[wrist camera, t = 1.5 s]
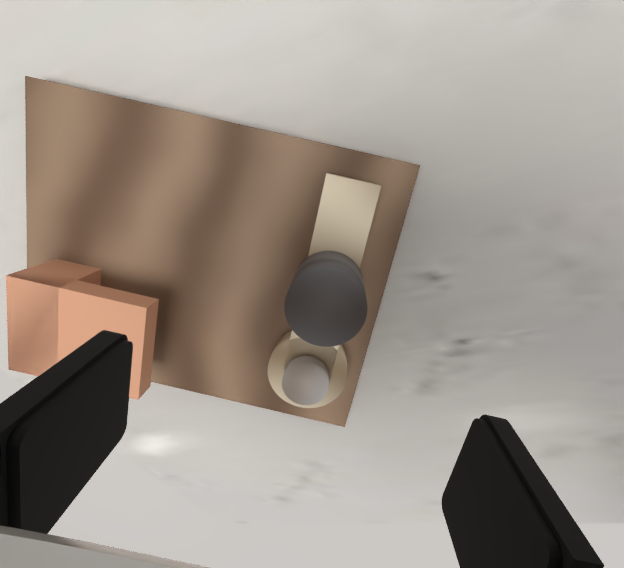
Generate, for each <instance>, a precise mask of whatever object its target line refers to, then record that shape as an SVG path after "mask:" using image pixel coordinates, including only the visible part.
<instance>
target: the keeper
mask: <svg viewBox="0 0 624 568" xmlns="http://www.w3.org/2000/svg"><path fill="white" fill-rule="evenodd" d="M6 288H7V324H8V361H9V369H10V370H14V371H18V372H23V373H27V374H31V375H35V376H39V375H41V374H42V373H44V372H45V371H46V370H48V369H49V368H51V367H52V366H53V365H55V364H56V363H58V362H59V361H60V360H62V359H63V358H64V357H66V356H67V355H69V354H70V353H71V352H73V351H74V350H76V349H77V348H78V347H80V346H81V345H83V344H84V343H85V342H87V341H88V340H89V339H91V338H92V337H94V336H95V335H96V334H98V333H99V332H101V331H103V330H107V331H111V332H116V333H120V334H125V335H126V336H127V338H128V341H131V342H132V343H133V354H132V366H131V378H130V390H129V398H133V399H139V398H140V397H141V396H142V395H143V394H144V393H145V391H146V390H147V389H148V388H149V387H150V383H151V373H152V363H153V353H154V343H155V333H156V323H157V313H158V303H159V299H156V298H152V297H148V296H143V295H139V294H135V293H130V292H126V291H122V290H117V289H113V288H109V287H104V286H101V269H99V268H95V267H90V266H86V265H82V264H77V263H73V262H69V261H64V260H60V259H55V260H52V261H48V262H45V263H42V264H39V265H36V266H33V267H30V268H27V269H24V270H21V271H18V272H15V273H12V274H9V275H6Z"/></svg>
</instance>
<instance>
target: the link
mask: <svg viewBox="0 0 624 568" xmlns="http://www.w3.org/2000/svg"><path fill="white" fill-rule="evenodd" d="M380 189H381V185H379V184H374V183H370V182H365V181H361V180H357V179H352V178H348V177H343V176H339V175H335V174H330V173H326V177H325V182H324V186H323V191H322V196H321V200H320V205H319V209H318V214H317V218H316V223H315V228H314V232H313V237H312V241H311V246H310V250H309V255H308V257H307V258H306V259H305V260H304V261H303V262H302V263H301V264H300V266H299V267H298V269H297V272H296V274H295V276H294V278H293V281H292V283H291V285H290V288H289V290H288V292H287V294H286V298H285V304H284V311H285V316H286V320H287V322H288V324H289V326H290V328H291V329H292V331H290V332H288V333H286V334H285V335H283V336H282V337H281V338H280V339H279V341H278V342H277V343H276V345H275V347H274V349H273V352H272V355H271V357H270V360H269V363H268V379H269V382H270V384H271V387H272V388H273V390H274V391H275V393H276V394H277V395H278V396H279V397H280V398H281V399H283V400H284V401H286V402H287V403H289V404H292V405H294V406H297V407H302V408H317V407H321V406H324V405H327V404H329V403H330V402H332V401H333V400H335V399H336V398H337V397H338V396H339V395H340V394H341V392H342V391H343V389H344V387H345V384H346V381H347V357H346V353H345V351H344V348H343V346H342V345H341V344H343V343H345V342H347V341H349V340H351V339H352V338H353V337H354V336H356V335H357V333H358V332H359V331H360V330H361V328H362V327H363V325H364V323H365V320H366V316H367V300H366V294H365V288H364V282H363V277H362V273H361V271H360V265H361V261H362V257H363V254H364V250H365V246H366V242H367V238H368V235H369V231H370V227H371V223H372V220H373V216H374V212H375V208H376V204H377V201H378V197H379V193H380ZM299 356H312V357H315V358H317V359H319V360H320V361H322V362H323V363H324V364H325V366H326V367H327V369H328V372H329V388H328V392H327V394H326V396H325V397H324V398H323V399H322V400H321V401H320V402H318V403H316V404H313V405H300V404H297V403H295V402H293V401H291V400H290V399H289V398H288V397H287V396H286V395H285V393H284V391H283V389H282V378H283V375H284V371H285V368H286V366H287V364H288V363H289V362H290V361H291V360H293V359H294V358H296V357H299Z"/></svg>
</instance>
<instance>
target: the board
mask: <svg viewBox="0 0 624 568" xmlns="http://www.w3.org/2000/svg"><path fill="white" fill-rule="evenodd" d="M25 99H26V200H27V268H30V267H33V266H36V265H39V264H42V263H45V262H48V261H52V260H55V259H60V260H64V261H69V262H73V263H77V264H82V265H86V266H90V267H95V268H99V269H101V286H104V287H109V288H113V289H117V290H122V291H126V292H130V293H135V294H139V295H143V296H148V297H152V298H156V299H159V303H158V313H157V323H156V333H155V343H154V353H153V363H152V373H151V382H155V383H159V384H163V385H168V386H172V387H176V388H180V389H185V390H189V391H193V392H197V393H202V394H206V395H210V396H215V397H219V398H223V399H227V400H232V401H236V402H240V403H244V404H249V405H253V406H257V407H262V408H266V409H270V410H274V411H279V412H283V413H287V414H292V415H296V416H300V417H304V418H309V419H313V420H317V421H321V422H326V423H330V424H334V425H339V426H343V427H345V424H346V420H347V417H348V413H349V410H350V406H351V403H352V399H353V396H354V393H355V389H356V386H357V382H358V379H359V375H360V372H361V368H362V365H363V361H364V358H365V354H366V351H367V348H368V344H369V341H370V337H371V334H372V330H373V327H374V323H375V320H376V316H377V313H378V309H379V306H380V302H381V299H382V296H383V292H384V289H385V285H386V282H387V278H388V275H389V271H390V268H391V264H392V261H393V257H394V254H395V251H396V247H397V244H398V240H399V237H400V233H401V230H402V226H403V223H404V219H405V216H406V212H407V209H408V206H409V202H410V199H411V195H412V192H413V188H414V185H415V181H416V178H417V174H418V171H419V167H420V165H416V164H412V163H407V162H403V161H399V160H394V159H390V158H385V157H381V156H376V155H372V154H368V153H363V152H359V151H354V150H350V149H346V148H341V147H337V146H332V145H328V144H324V143H319V142H315V141H310V140H306V139H302V138H297V137H293V136H288V135H284V134H280V133H275V132H271V131H266V130H262V129H257V128H253V127H249V126H244V125H240V124H235V123H231V122H227V121H222V120H218V119H213V118H209V117H205V116H200V115H196V114H191V113H187V112H183V111H178V110H174V109H169V108H165V107H160V106H156V105H152V104H147V103H143V102H138V101H134V100H130V99H125V98H121V97H116V96H112V95H108V94H103V93H99V92H94V91H90V90H86V89H81V88H77V87H72V86H68V85H63V84H59V83H55V82H50V81H46V80H41V79H37V78H33V77H28V76H25ZM326 173H330V174H335V175H339V176H343V177H348V178H352V179H357V180H361V181H365V182H370V183H374V184H379V185H381V189H380V193H379V197H378V201H377V204H376V208H375V212H374V216H373V220H372V223H371V227H370V231H369V235H368V238H367V242H366V246H365V250H364V254H363V257H362V261H361V265H360V271H361V273H362V277H363V282H364V288H365V294H366V300H367V316H366V320H365V323H364V325H363V327H362V328H361V330H360V331H359V332H358V333H357V335H356V336H354V337H353V338H352V339H351V340H349V341H347V342H345V343H343V344H341V345H342V346H343V348H344V351H345V353H346V357H347V381H346V384H345V387H344V389H343V391H342V392H341V394H340V395H339V396H338V397H337V398H336V399H335V400H333V401H332V402H330V403H329V404H327V405H324V406H321V407H317V408H302V407H297V406H294V405H292V404H289V403H287V402H286V401H284V400H283V399H281V398H280V397H279V396H278V395H277V394H276V393H275V391H274V390H273V388H272V387H271V384H270V382H269V379H268V363H269V360H270V357H271V355H272V352H273V349H274V347H275V345H276V343H277V342H278V341H279V339H280V338H281V337H282V336H283V335H285V334H286V333H288V332H290V331H292V329H291V328H290V326H289V324H288V322H287V320H286V316H285V311H284V304H285V298H286V294H287V292H288V290H289V288H290V285H291V283H292V281H293V278H294V276H295V274H296V272H297V269H298V267H299V266H300V264H301V263H302V262H303V261H304V260H305V259H306V258H307V257H308V255H309V250H310V246H311V241H312V237H313V232H314V228H315V223H316V218H317V214H318V209H319V205H320V200H321V196H322V191H323V186H324V182H325V177H326ZM328 388H329V372H328V369H327V367H326V366H325V364H324V363H323V362H322V361H320V360H319V359H317V358H315V357H312V356H299V357H296V358H294V359H293V360H291V361H290V362H289V363H288V364H287V366H286V368H285V371H284V375H283V378H282V389H283V391H284V393H285V395H286V396H287V397H288V398H289V399H290V400H291V401H293V402H295V403H297V404H300V405H313V404H316V403H318V402H320V401H321V400H322V399H323V398H324V397H325V396H326V394H327V392H328Z"/></svg>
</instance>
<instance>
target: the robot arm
mask: <svg viewBox="0 0 624 568" xmlns="http://www.w3.org/2000/svg"><path fill="white" fill-rule="evenodd" d="M132 354H133V343H132V342H131V341H128V338H127V336H126V335H125V334H120V333H116V332H111V331H107V330H103V331H101V332H99V333H98V334H96V335H95V336H94V337H92V338H91V339H89V340H88V341H87V342H85V343H84V344H83V345H81V346H80V347H78V348H77V349H76V350H74V351H73V352H71V353H70V354H69V355H67V356H66V357H64V358H63V359H62V360H60V361H59V362H58V363H56V364H55V365H53V366H52V367H51V368H49V369H48V370H46V371H45V372H44V373H42V374H41V375H39V376H38V377H37V378H35V379H34V380H32V381H31V382H30V383H28V384H27V385H26V386H24V387H23V388H21V389H20V390H19V391H18V392H16V393H15V394H13V395H12V396H10V397H9V398H8V399H6V400H5V401H3V402H2V403H1V404H0V568H208V567H203V566H199V565H194V564H189V563H184V562H179V561H175V560H170V559H166V558H161V557H155V556H151V555H147V554H142V553H137V552H132V551H127V550H123V549H118V548H114V547H109V546H104V545H99V544H94V543H90V542H84V541H80V540H74V539H69V538H64V537H59V536H53V535H48V534H47V533H48V532H49V531H50V530H51V528H52V527H53V526H54V524H55V523H56V522H57V521H58V519H59V518H60V517H61V515H62V514H63V513H64V512H65V510H66V509H67V508H68V506H69V505H70V504H71V503H72V501H73V500H74V499H75V497H76V496H77V495H78V494H79V492H80V491H81V490H82V488H83V487H84V486H85V485H86V483H87V482H88V481H89V479H90V478H91V477H92V476H93V474H94V473H95V472H96V470H97V469H98V468H99V467H100V465H101V464H102V463H103V461H104V460H105V459H106V458H107V456H108V455H109V454H110V452H111V451H112V450H113V449H114V447H115V446H116V445H117V443H118V442H119V441H120V440H121V438H122V436H123V434H124V432H125V429H126V425H127V414H128V402H129V390H130V378H131V366H132ZM442 509H443V513H444V516H445V520H446V523H447V526H448V529H449V533H450V536H451V539H452V542H453V546H454V549H455V552H456V556H457V559H458V562H459V565H460V568H603V567H604V564H603V563H602V561H601V560H600V558H599V557H598V555H597V554H596V552H595V551H594V550H593V548H592V547H591V545H590V543H589V542H588V540H587V539H586V537H585V536H584V534H583V533H582V531H581V530H580V528H579V527H578V525H577V524H576V522H575V521H574V519H573V518H572V516H571V515H570V513H569V512H568V510H567V509H566V507H565V506H564V504H563V503H562V501H561V500H560V498H559V497H558V495H557V494H556V492H555V491H554V489H553V488H552V486H551V485H550V483H549V482H548V480H547V479H546V477H545V476H544V474H543V473H542V471H541V470H540V468H539V467H538V465H537V464H536V462H535V461H534V459H533V458H532V456H531V455H530V453H529V452H528V450H527V449H526V447H525V446H524V444H523V443H522V441H521V440H520V438H519V437H518V435H517V433H516V432H515V430H514V429H513V427H512V426H511V424H510V423H509V422H508V421H507V420H506V419H502V418H498V417H493V416H489V415H482V416H481V417H480V419H475V420H474V421H473V422H472V425H471V427H470V429H469V432H468V434H467V437H466V439H465V442H464V444H463V447H462V449H461V451H460V454H459V456H458V459H457V461H456V464H455V466H454V469H453V471H452V474H451V476H450V478H449V481H448V483H447V486H446V488H445V491H444V493H443V496H442Z"/></svg>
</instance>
